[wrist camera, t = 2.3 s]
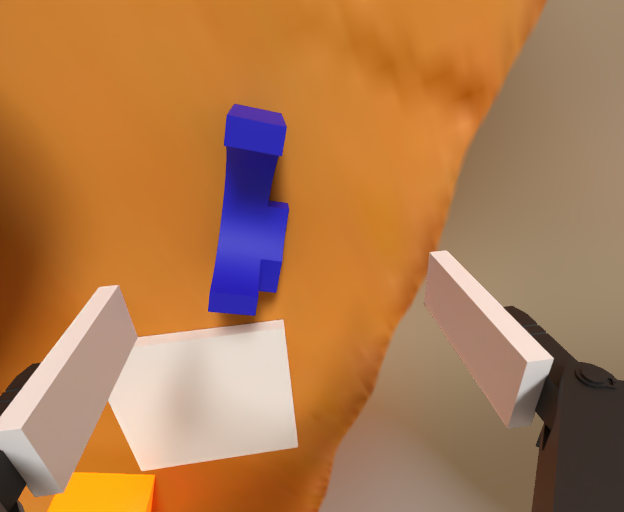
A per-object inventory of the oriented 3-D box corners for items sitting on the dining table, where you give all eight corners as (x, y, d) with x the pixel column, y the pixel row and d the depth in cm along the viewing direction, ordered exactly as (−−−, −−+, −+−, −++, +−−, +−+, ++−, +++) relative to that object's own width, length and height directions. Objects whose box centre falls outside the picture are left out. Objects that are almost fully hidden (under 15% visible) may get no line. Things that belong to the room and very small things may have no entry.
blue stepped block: (274, 272, 29) (277, 317, 24) (218, 265, 28) (208, 311, 23) (303, 117, 24) (315, 132, 19) (234, 103, 23) (226, 114, 18)
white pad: (145, 459, 37) (141, 471, 36) (91, 342, 30) (85, 353, 29) (297, 436, 39) (298, 447, 38) (283, 319, 31) (284, 328, 30)
